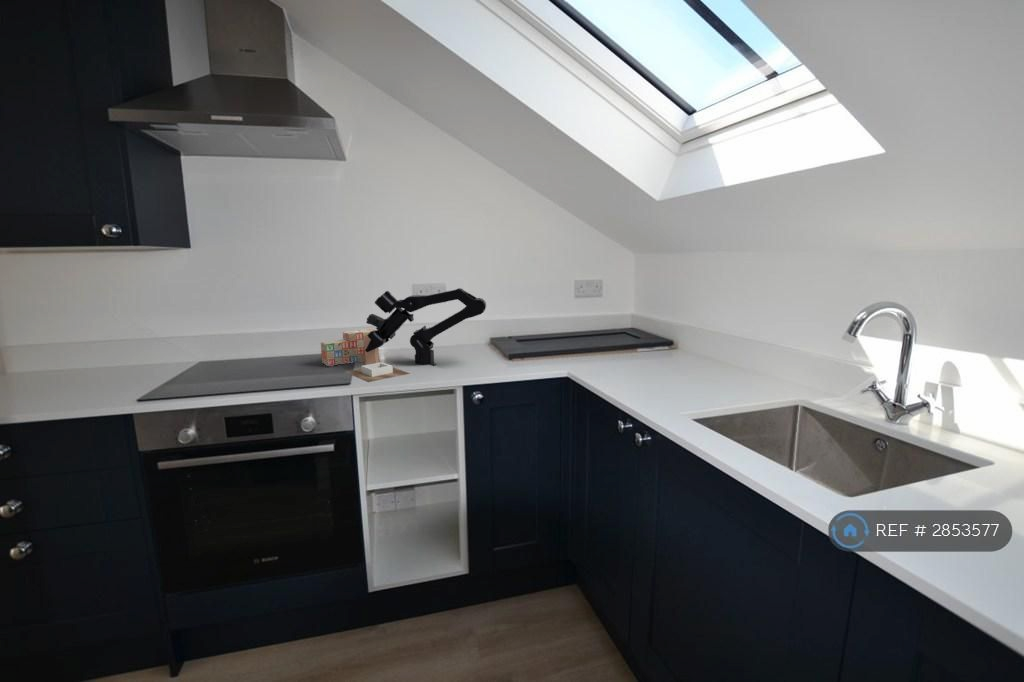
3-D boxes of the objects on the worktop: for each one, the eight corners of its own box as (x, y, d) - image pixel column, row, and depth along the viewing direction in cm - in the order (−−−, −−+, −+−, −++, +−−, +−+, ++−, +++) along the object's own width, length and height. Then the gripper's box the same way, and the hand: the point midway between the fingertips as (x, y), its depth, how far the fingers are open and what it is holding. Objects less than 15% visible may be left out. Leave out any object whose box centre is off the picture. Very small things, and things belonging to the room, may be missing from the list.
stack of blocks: (327, 367, 184) (324, 336, 182) (322, 364, 189) (319, 334, 187) (379, 359, 197) (377, 330, 195) (373, 356, 202) (371, 328, 200)
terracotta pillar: (379, 365, 186) (377, 334, 183) (376, 368, 182) (374, 336, 180) (369, 365, 186) (367, 334, 184) (366, 368, 182) (363, 336, 180)
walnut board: (385, 367, 183) (385, 364, 182) (410, 376, 169) (410, 373, 169) (345, 375, 172) (344, 371, 172) (368, 385, 158) (368, 382, 158)
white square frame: (382, 368, 176) (381, 362, 175) (392, 372, 170) (392, 365, 169) (361, 372, 170) (361, 365, 170) (372, 376, 165) (371, 369, 164)
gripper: (385, 304, 189) (360, 331, 191) (371, 310, 170) (343, 340, 173) (406, 323, 190) (380, 350, 192) (394, 331, 172) (366, 361, 174)
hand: (368, 350), depth 183 cm, fingers closed on terracotta pillar, 4 cm apart
